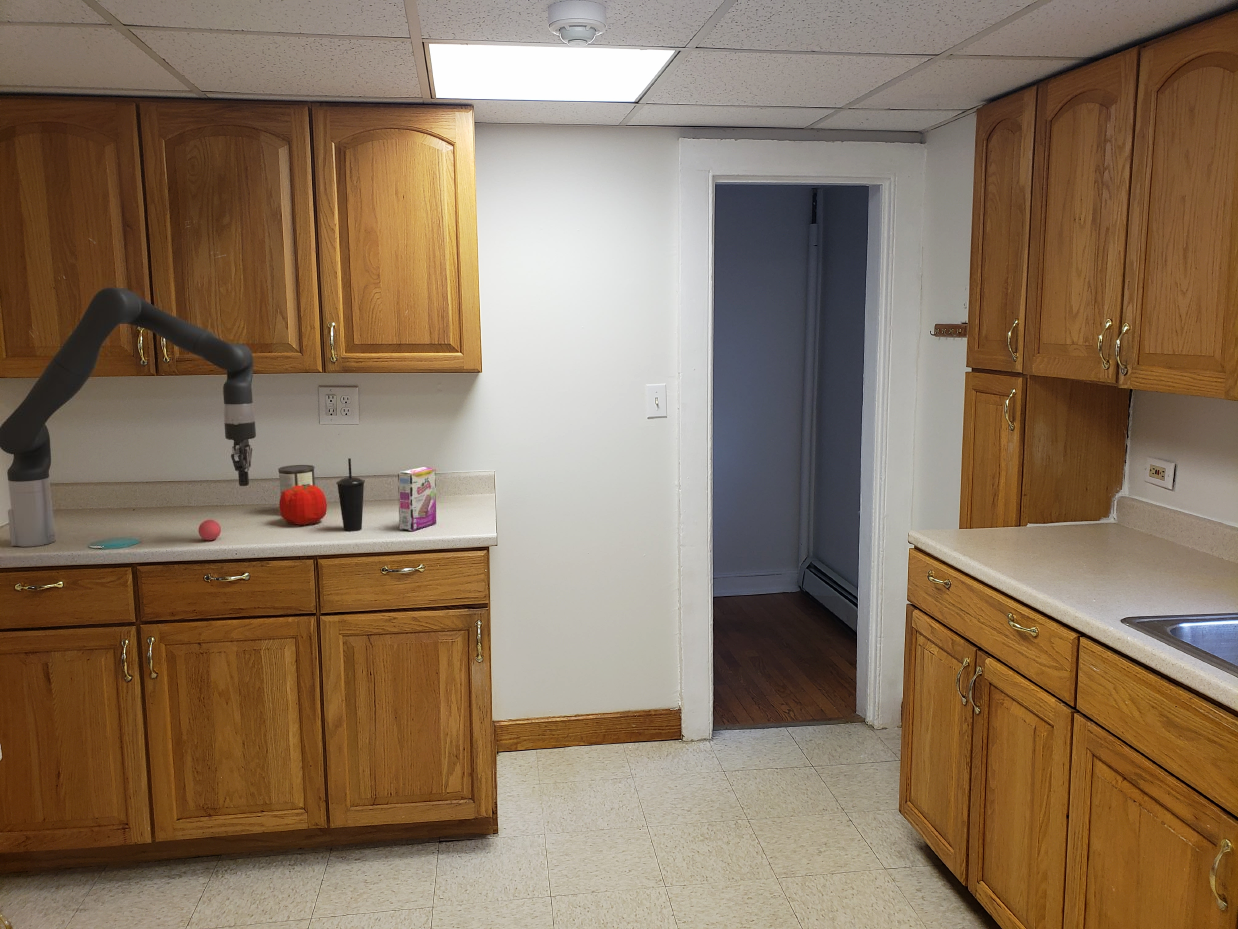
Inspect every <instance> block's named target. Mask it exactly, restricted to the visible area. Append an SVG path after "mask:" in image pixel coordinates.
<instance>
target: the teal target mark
mask: <svg viewBox="0 0 1238 929" xmlns="http://www.w3.org/2000/svg"><path fill="white" fill-rule="evenodd" d="M140 542H141V540H140V538H136V537H114V538H106V539H101V540H97V541H93V542H91V543H89V544H88V546H101V547H102V546H104V547H102V549H101V550H113V548H115V549H122V548H126V547H127V546H128V547H131V546H135V545H137V544H139V543H140ZM110 548H112V549H110Z"/></svg>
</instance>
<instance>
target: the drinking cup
mask: <svg viewBox="0 0 1238 929" xmlns="http://www.w3.org/2000/svg"><path fill="white" fill-rule="evenodd" d="M347 459H348V461H347V463H348V465H347V466H348V476H346V477H343V478H341V479H339V480H337V481H336V482H335V483H336V485H337V490H338V491H337V492H338V499H339V504H340V512H341V513H340V514H341V519H342V527H343V531H344V530H345V532H358V531H361V530H363V510H364V509H363V507H364V488H365V483H366V480H365V479H362V478H360V477H357V476H352V460H351V457H349V458H347Z"/></svg>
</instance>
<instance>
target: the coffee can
mask: <svg viewBox="0 0 1238 929" xmlns="http://www.w3.org/2000/svg"><path fill="white" fill-rule="evenodd" d="M315 477H316V476H315V466H314V465H310V464H296V465H295V464H292V465H285V466H284V465H283V466H280V467H279V468H278V478H279V493H280V496H281V494H282V493H283V491H285V490H287V489H290V488H292V487H295V486H297V485H300V486H306V487H308V486H309V485H313V486H316V481H315V480H316V479H315Z"/></svg>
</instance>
